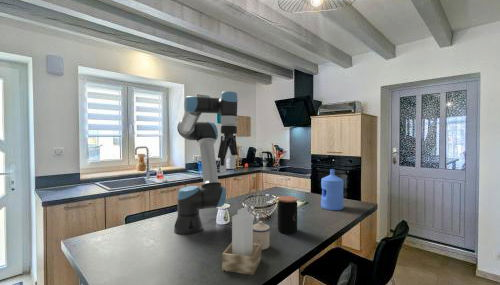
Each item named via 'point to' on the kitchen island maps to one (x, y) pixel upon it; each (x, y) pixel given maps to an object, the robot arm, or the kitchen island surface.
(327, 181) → the water jug
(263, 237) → the teacup with lid
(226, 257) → the holder
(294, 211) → the coffee jar
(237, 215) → the milk
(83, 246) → the kitchen island surface
